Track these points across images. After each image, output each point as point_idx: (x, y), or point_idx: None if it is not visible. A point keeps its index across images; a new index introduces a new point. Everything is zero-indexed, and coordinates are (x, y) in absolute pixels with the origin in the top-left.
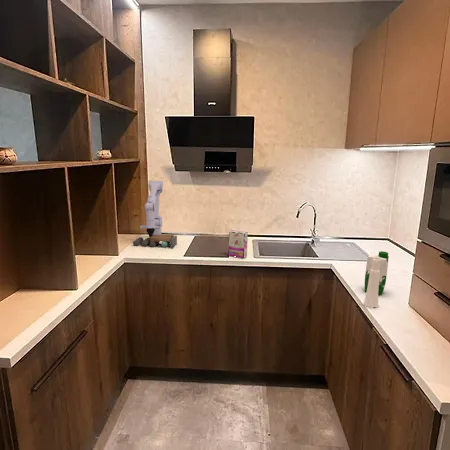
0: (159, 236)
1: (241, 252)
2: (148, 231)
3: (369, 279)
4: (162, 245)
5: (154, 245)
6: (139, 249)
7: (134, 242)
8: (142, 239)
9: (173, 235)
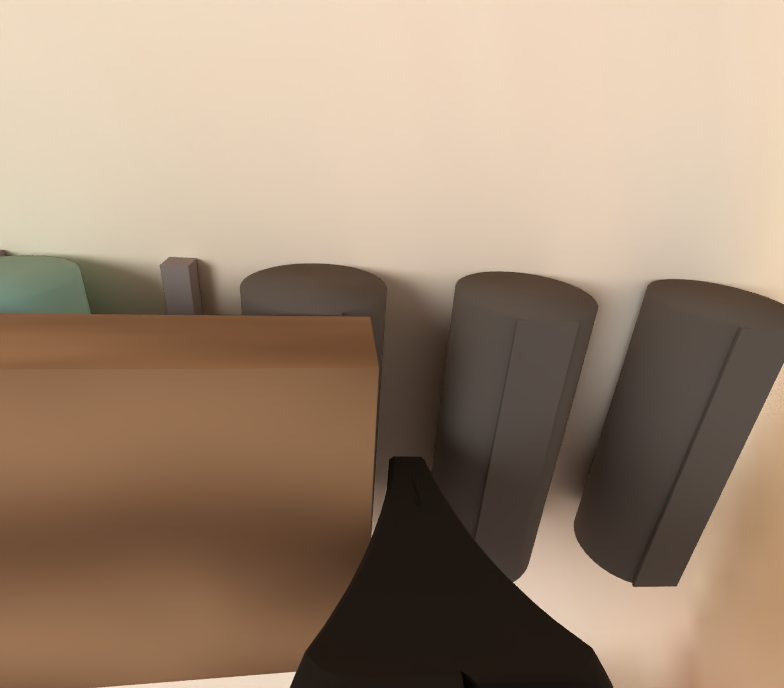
0: (120, 523)
1: None
2: (498, 633)
3: None
4: (50, 269)
5: (262, 273)
6: (566, 5)
7: (758, 309)
8: (603, 523)
9: None
